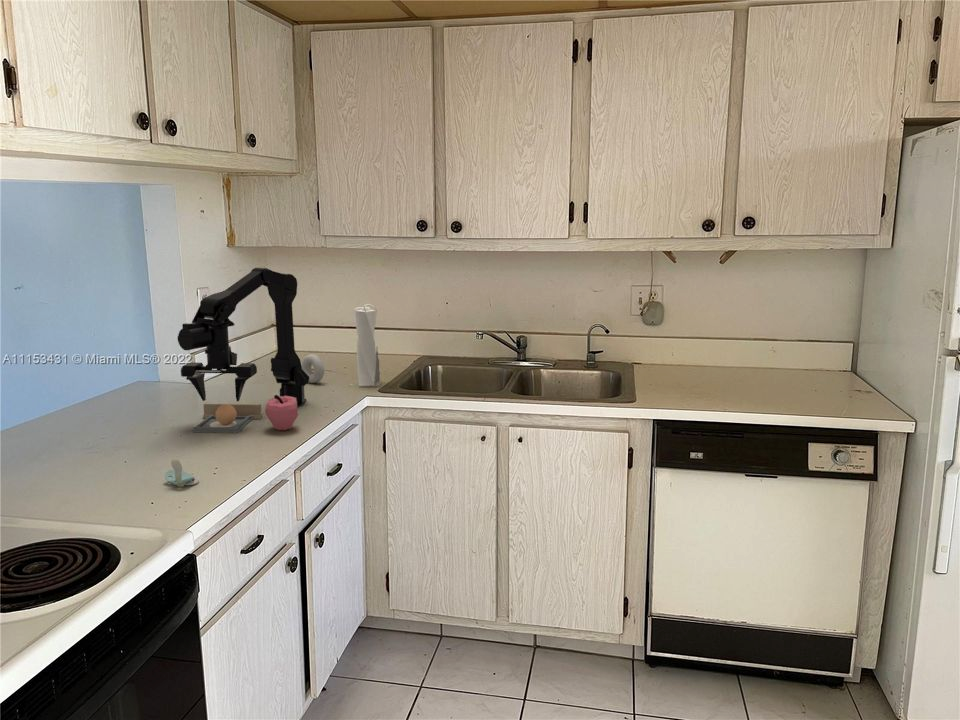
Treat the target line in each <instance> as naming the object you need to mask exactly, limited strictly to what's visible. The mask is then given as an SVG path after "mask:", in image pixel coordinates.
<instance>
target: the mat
mask: <svg viewBox="0 0 960 720" xmlns="http://www.w3.org/2000/svg"><path fill="white" fill-rule="evenodd" d="M252 420H253V419H252V418H251V416H236V419H235V420H234V421H233V422H232V423H230V424H227V425H225V424H221V423H219V422H218V421H217V419H216V417H215V416H208V418H206V419H204V420H202V421H201V422H199V423H198V424H197V425H195V426H193V429H192V433H213V432H223V433H224V432H225V434H226V433H227V434H231V433H232V434H234V433H235V434H238V433H239V432H240V431H242V429H244V428H245V427H246V426H247V425H248V424H249V423H250V422H251V421H252ZM245 425H246V426H245ZM244 426H245V427H244ZM243 427H244V428H243Z"/></svg>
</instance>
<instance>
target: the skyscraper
mask: <svg viewBox="0 0 960 720" xmlns="http://www.w3.org/2000/svg"><path fill="white" fill-rule="evenodd" d="M370 307H373V309H371V308H370ZM353 313H354V322H355V329H356V334H357V339H356V341H357V342H356V367H357V380H358V382H357V383H358V388H380V387H381V378H380V377H381V375H380V374H381V373H380V358H379V351H378V346H376V341H375V336H374V335H375V329H376V328H375V327H376V321H377V308H376V307H375V305H373V304H371V303H365V304H364V305H363V306H358V307H355V308H354V309H353Z"/></svg>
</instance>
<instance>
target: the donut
mask: <svg viewBox="0 0 960 720" xmlns="http://www.w3.org/2000/svg"><path fill="white" fill-rule="evenodd" d="M312 366H313V368H312ZM301 367H302V370H303V371H304V372H305V373H306V374H307V375H308V376H309V382H308V383H310V384H317V383H320V382H321V381H322V380H323V378H324V376H325V365H324V362H323V361H322V358H321V357H319V355H317V354H314V353H313V354H312V353H311V354H307V355H306V356H304V357H303V360H302V362H301ZM313 371H314V372H313Z"/></svg>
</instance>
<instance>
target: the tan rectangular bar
mask: <svg viewBox="0 0 960 720" xmlns="http://www.w3.org/2000/svg"><path fill="white" fill-rule="evenodd" d="M224 404H228V405H231V406H233V407H234V408H235V410H236V413H237V416H251V418H252V420H261V419H262V418H263V415H264V414H263V411H262V403H242V402H241V403H236V402H235V403H234V402H233V403H230V402H227V403H225V402H204V403H203V415H202V419H203V418H205V419H206V418H208V416H215V413H216V410H217V409H218V407H220V406H221V405H224ZM260 418H261V419H260ZM205 419H204V420H205Z"/></svg>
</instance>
